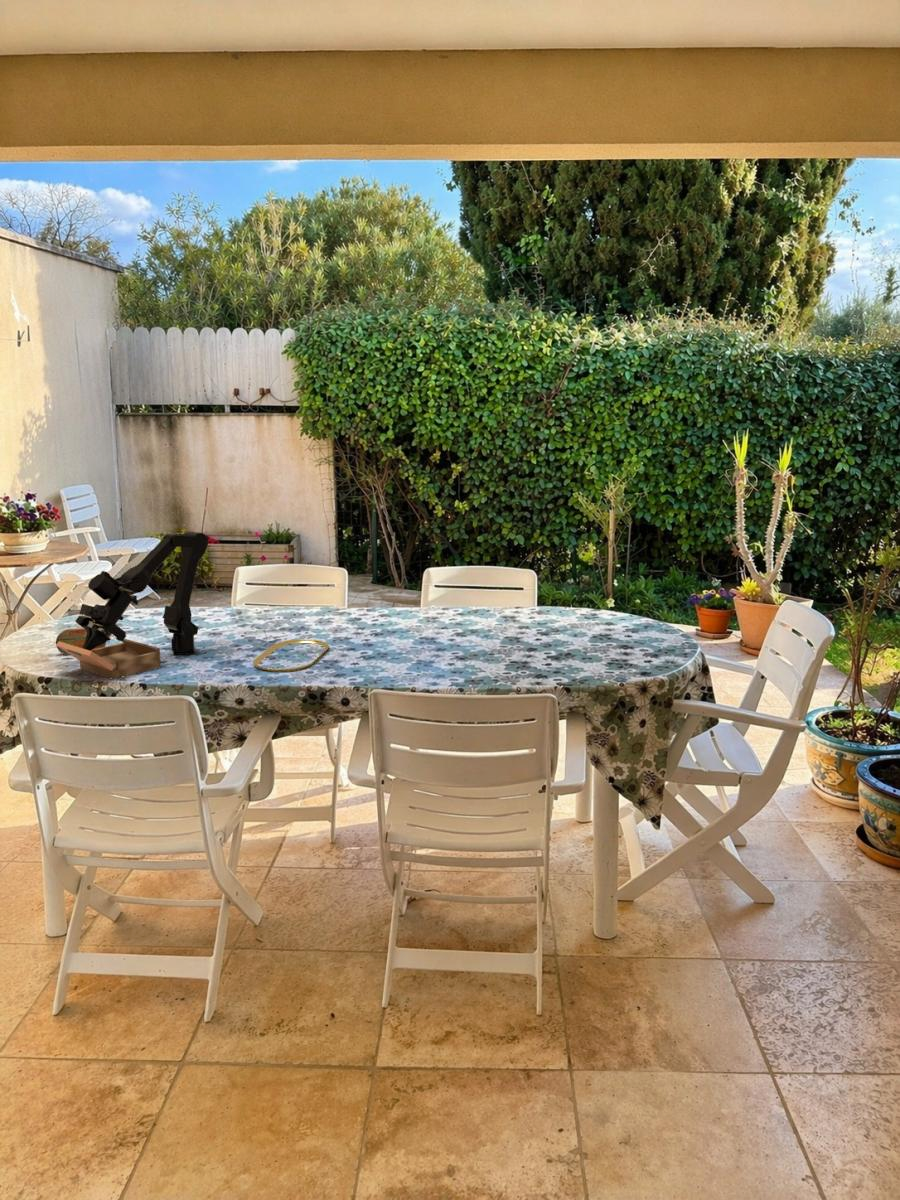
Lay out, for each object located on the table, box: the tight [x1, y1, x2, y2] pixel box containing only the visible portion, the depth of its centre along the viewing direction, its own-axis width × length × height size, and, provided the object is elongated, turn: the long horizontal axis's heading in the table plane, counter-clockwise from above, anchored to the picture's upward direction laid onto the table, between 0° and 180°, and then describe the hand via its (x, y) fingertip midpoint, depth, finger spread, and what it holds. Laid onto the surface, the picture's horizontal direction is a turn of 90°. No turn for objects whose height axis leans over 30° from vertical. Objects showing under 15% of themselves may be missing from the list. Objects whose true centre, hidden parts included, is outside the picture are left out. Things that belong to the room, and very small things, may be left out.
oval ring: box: [252, 638, 330, 673], centre depth 291 cm, size 19×35×2 cm, turn 172°
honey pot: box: [76, 583, 115, 639], centre depth 314 cm, size 13×13×18 cm
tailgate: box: [55, 641, 115, 671], centre depth 268 cm, size 2×18×9 cm
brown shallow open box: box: [79, 638, 162, 680], centre depth 278 cm, size 16×18×6 cm
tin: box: [55, 628, 107, 656], centre depth 293 cm, size 15×3×8 cm, turn 105°
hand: (83, 652), depth 268 cm, fingers closed, pressing on tailgate
